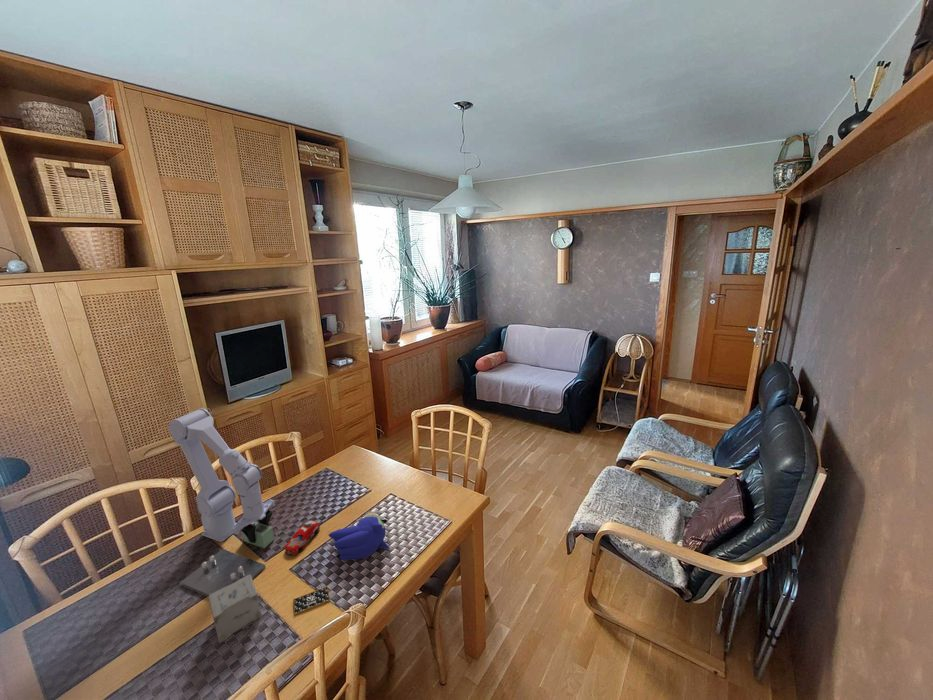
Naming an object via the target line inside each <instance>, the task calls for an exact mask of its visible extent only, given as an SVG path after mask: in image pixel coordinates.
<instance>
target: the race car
mask: <svg viewBox="0 0 933 700" xmlns="http://www.w3.org/2000/svg"><path fill="white" fill-rule="evenodd" d="M320 528H321V527H320V522H318V521H315V520H309V521H307V522H306V523H304V524H303V525H302V526H300V527H299V529H298V530H297V531H296V532H295V533H294V534H292V535H291V539H289V541H288V542H287V543H286V544H285V545H284V546H285V547H284V549H285V550H284V551H285V553H286V554H287V555H290V556H293V555H298V554H300V553H301V552H302V551H303V549H304V548H305V547H306V546H307V545H308V544H309V542H311V541H312V539H313V538H314V537H315V536H316V535H317V534H318V533H319V531H320Z"/></svg>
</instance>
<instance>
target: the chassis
mask: <svg viewBox="0 0 933 700" xmlns="http://www.w3.org/2000/svg"><path fill="white" fill-rule="evenodd" d="M265 568H266V564H265V563H263V562H259V561H257V560H254V559H251V558H248V557H246V556H242V555H241V554H237V553H234V552H232V551H229V550H226V549H221V550H220V551H218V552H217V553H216V554H212V555H210V556H209V559H208V560H207V561H206V560H205V561H202V562H201V565H200V566H199V567H198V568H197V569H195V570H194V571H192V573H190V574H189V575H188V576H187V577H185V578H184V579H183V580H181V581H180V585H181V586H182V587H184V588H186V589H188V590H192V591H194V592H196V593H199V594H200V595H202V596H205V597H208V598H209V595H210V594H212V593H214V592H216V591H218V590H220V589H222V588H224V587H226V586H228V585H230V584H232V583H234V582H236V581H238V580H240V579H242V578H244V577H246V576H248V575H251V577H252V580H253V579H255V578H256V577H257V576H258V575H259V574H260V573H261V572H262V571H263V570H265Z"/></svg>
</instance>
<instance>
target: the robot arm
mask: <svg viewBox="0 0 933 700" xmlns="http://www.w3.org/2000/svg"><path fill="white" fill-rule="evenodd" d="M214 421H215V420H214V417H213V416H212V415H211V413H210V412H209V411H208V410H207V409H205V408H202V407H200V408H197V409H196V410H194V411H191V412H189V413H186V414H184V415H183V416H180V417H177V418H174V419H172V420H170V423H169V425H168V428H167V429H168V431H169V433H170V436H171V437H172V439H173V441H174V443H175V445H179V446H180V448H181V450H182V452H183V455H184V457H185V459H186V460H187V463H188V465H189V466H190V468H191V471H192V473H193V475H194V477H195V478H196V481H197V482H198V485H199V487H200V490H199V491H198V493H197V495H196V497H195V501H196V503H197V504H196V505H197V510H198V512H199V514H200V519H201V523H202V527H203V531H204V532H202V533H201V535H202V537H206V538H208V539H211V540H214V541H217V542H220V543H221V542H224V541H225V540H226V539H227V538H229V537H230V536H232V535H233V534H234V535H239V534H240V533H242V532H243V533H244V534H245V535H246V536H247V538H248V540H249V542H251V543H255V542H256V537H255V529H256V527H255V526H252V524H251V523H253V522H257V521H258V523H261V524H264V525H267V526H269V524H270V521H271V517H272V515H273V512H272V510H270V509H271V508H273V507H274V506H276V502H275V500H274V499H270V498H269V499H268V500H266V501H265V502H263V497H262V491H261V486H260V480H261V479H262V478H263V472H262V470H261V468H260V467H259V466H258V465H257V464H253V462H250V461H249V462H248V460H246V458H245V457H244V456H243V455H242V454H241V453H240V452H239V451H238V450H237V449H236V448H230V447H229V446H228V444H227V443H226V442H225V440H224V439H223V437H222V436H221V435H220V433H219V432H218V430H217V429H216V428H215V426H214V425H215V424H214V423H215V422H214ZM201 441H202V442H203V444H205V445H206V446H207V447H208V448H209V449H210V450H211V451H213V453H215V454H216V455H217V456H218V464H220V465H221V467H222V468H223V469H224V470H225V471H226V472H227V473H228V475H230V477H231V478H232V481H231V482H232V485H233V486H232V485H231V484H230V483H229V481H228V480H221V479H219V477H218V475H217V472H216V470H215V469H214V466H213V464H212V463H211V460H210V459H209V456H208V455H207V452H206V450H205V448H204V446H203V444H202V442H201ZM237 494H238V495H239V498H240V503H241V509H242V513H243V516H242V517H241V518H240V519H239V520H238V521H237V522H236V519H235V515H234V510H233V505H234V501H235V500H236V498H237ZM251 543H250V544H251Z"/></svg>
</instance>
